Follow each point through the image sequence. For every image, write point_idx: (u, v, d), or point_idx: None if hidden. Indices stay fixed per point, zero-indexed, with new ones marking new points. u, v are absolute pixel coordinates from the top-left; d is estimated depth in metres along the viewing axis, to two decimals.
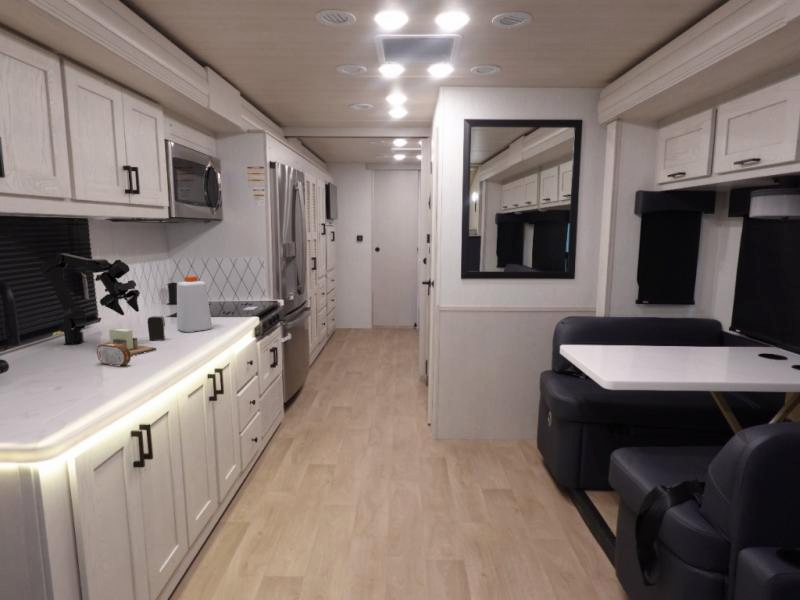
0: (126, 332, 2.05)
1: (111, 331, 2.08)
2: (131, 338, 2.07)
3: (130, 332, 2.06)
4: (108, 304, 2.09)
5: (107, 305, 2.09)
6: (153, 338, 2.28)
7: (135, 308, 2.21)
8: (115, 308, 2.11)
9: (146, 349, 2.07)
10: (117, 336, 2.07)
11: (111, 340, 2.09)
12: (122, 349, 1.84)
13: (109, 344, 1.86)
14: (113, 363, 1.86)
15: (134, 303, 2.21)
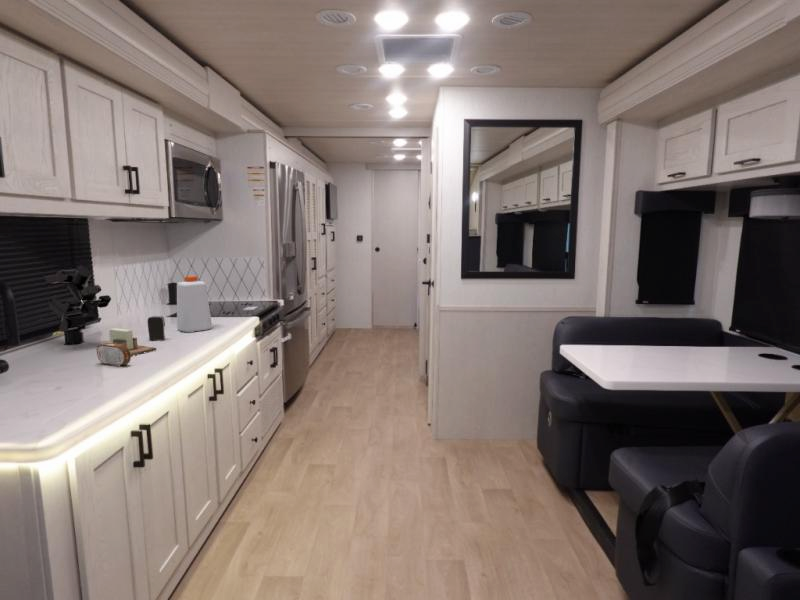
0: (126, 332, 2.05)
1: (111, 331, 2.08)
2: (131, 338, 2.07)
3: (130, 332, 2.06)
4: (81, 308, 2.12)
5: (80, 310, 2.13)
6: (153, 338, 2.28)
7: None
8: (89, 312, 2.14)
9: (146, 349, 2.07)
10: (117, 336, 2.07)
11: (111, 340, 2.09)
12: (122, 349, 1.84)
13: (109, 344, 1.86)
14: (113, 363, 1.86)
15: (94, 309, 2.15)
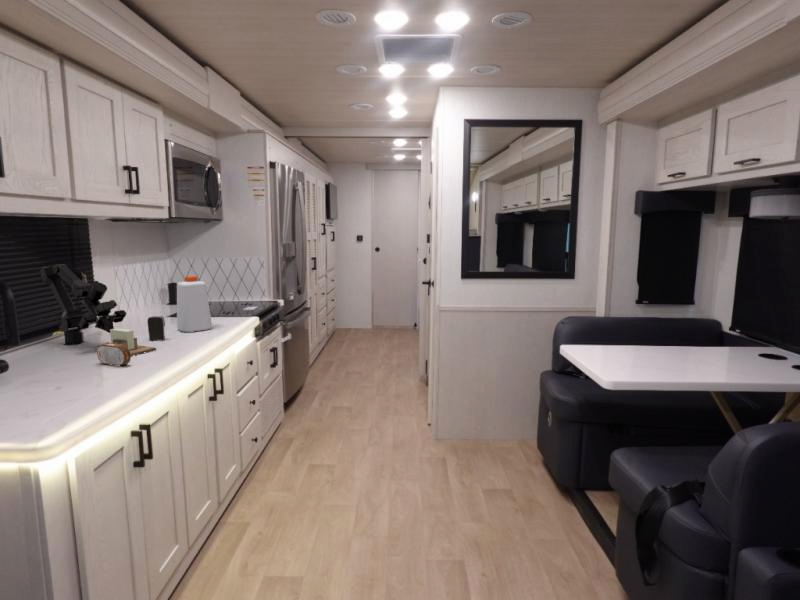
0: (127, 332, 2.04)
1: (112, 331, 2.08)
2: (132, 338, 2.07)
3: (131, 332, 2.06)
4: (96, 324, 2.09)
5: (96, 325, 2.09)
6: (153, 338, 2.28)
7: None
8: (105, 328, 2.10)
9: (146, 349, 2.07)
10: (118, 336, 2.07)
11: (112, 341, 2.09)
12: (122, 349, 1.84)
13: (109, 344, 1.86)
14: (113, 363, 1.86)
15: (109, 325, 2.11)
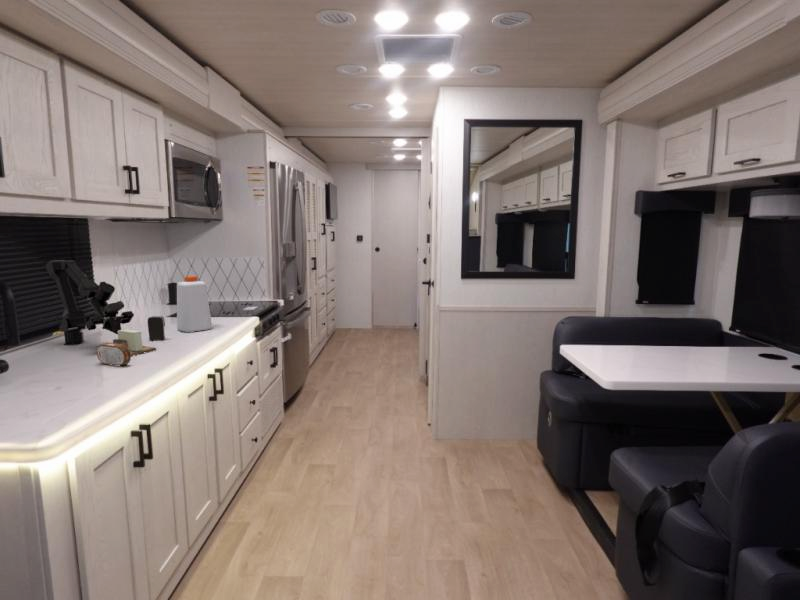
0: (135, 333, 2.02)
1: (120, 332, 2.06)
2: (140, 339, 2.04)
3: (139, 333, 2.04)
4: (104, 325, 2.07)
5: (103, 327, 2.07)
6: (153, 338, 2.28)
7: None
8: (112, 329, 2.08)
9: (146, 349, 2.07)
10: (125, 337, 2.05)
11: None
12: (122, 349, 1.84)
13: (109, 344, 1.86)
14: (113, 363, 1.86)
15: (117, 326, 2.09)
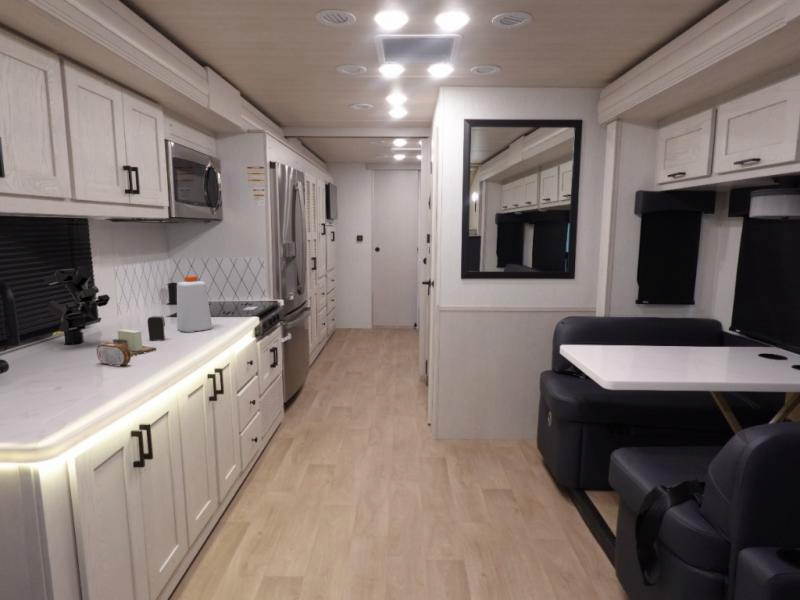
0: (135, 333, 2.02)
1: (120, 332, 2.06)
2: (140, 339, 2.04)
3: (139, 333, 2.04)
4: (80, 310, 2.14)
5: (79, 311, 2.15)
6: (153, 338, 2.28)
7: None
8: (88, 313, 2.16)
9: (146, 349, 2.07)
10: (125, 337, 2.05)
11: None
12: (122, 349, 1.84)
13: (109, 344, 1.86)
14: (113, 363, 1.86)
15: (92, 311, 2.17)
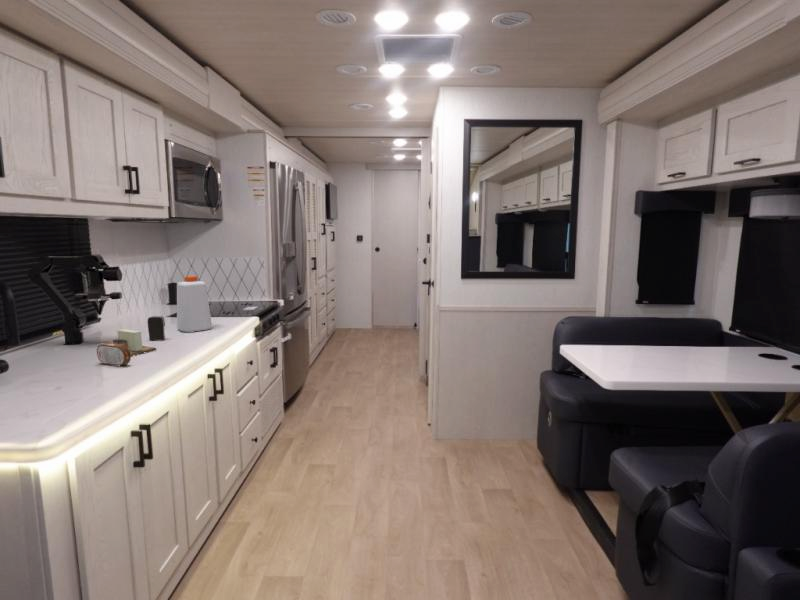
0: (135, 333, 2.02)
1: (120, 332, 2.06)
2: (140, 339, 2.04)
3: (139, 333, 2.04)
4: None
5: None
6: (153, 338, 2.28)
7: None
8: None
9: (146, 349, 2.07)
10: (125, 337, 2.05)
11: None
12: (122, 349, 1.84)
13: (109, 344, 1.86)
14: (113, 363, 1.86)
15: None
